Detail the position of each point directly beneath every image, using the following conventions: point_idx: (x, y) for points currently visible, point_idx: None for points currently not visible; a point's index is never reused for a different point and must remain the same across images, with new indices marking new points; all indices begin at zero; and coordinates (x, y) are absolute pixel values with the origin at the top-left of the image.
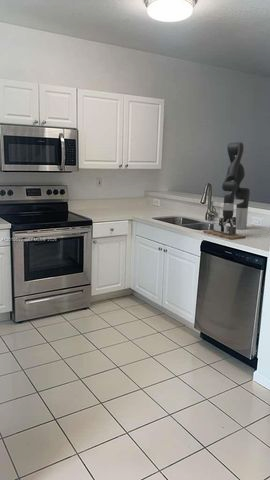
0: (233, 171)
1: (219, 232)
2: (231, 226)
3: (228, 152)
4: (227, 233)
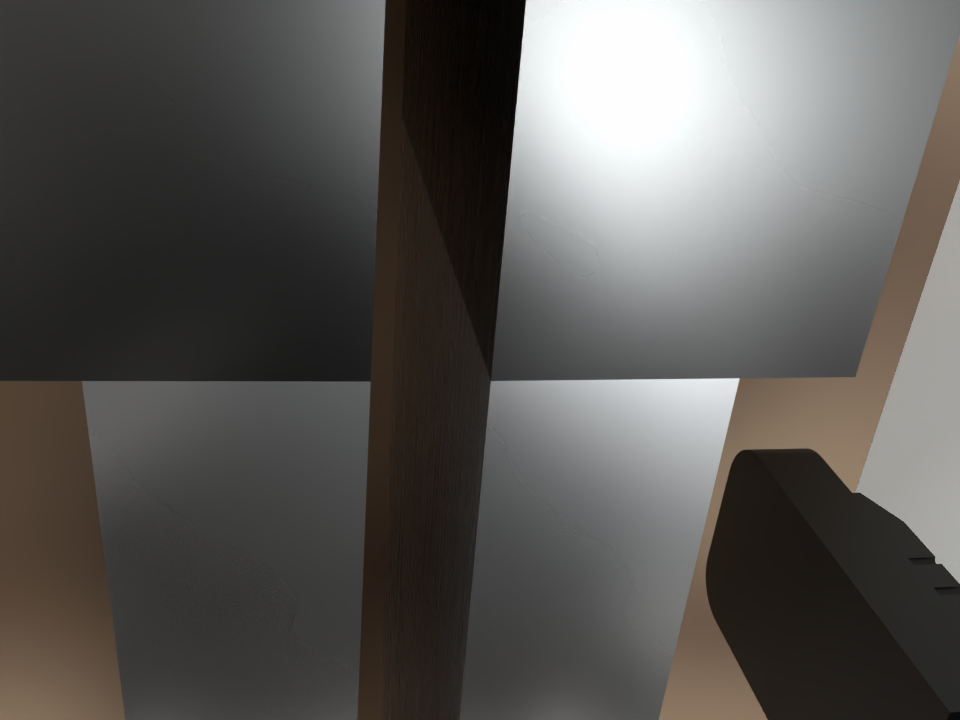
0: None
1: None
2: (173, 536)
3: None
4: None
